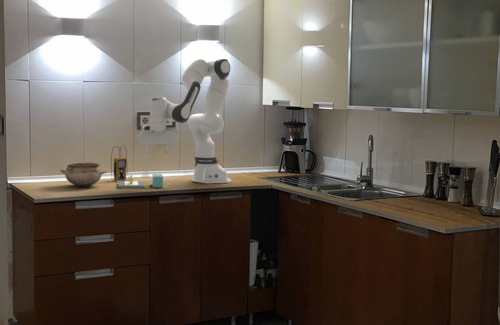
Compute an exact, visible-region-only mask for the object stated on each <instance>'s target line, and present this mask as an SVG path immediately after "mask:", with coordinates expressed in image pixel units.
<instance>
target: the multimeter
mask: <svg viewBox="0 0 500 325" xmlns="http://www.w3.org/2000/svg"><path fill="white" fill-rule="evenodd" d="M123 147H124V149H127V148H126V146H125V145H123ZM114 148H117V149H118V151H119V153H118V157H115V158H113V164H112V155H113V153H111V154H110V170H111V176H113V179H111V182H112V183H114V182H118V181H130V176H127V174H129V173H128V172H129V170H128V167H129V166H127V163H128V161H127V156H125V157H122V154H121V148H120V147H119V146H114ZM114 148H112V149H111V152H113V151H114ZM127 153H128V151H127V150H125V155H127ZM112 165H113V166H112ZM112 167H113V170H112ZM112 171H113V172H112ZM127 178H128V179H127Z"/></svg>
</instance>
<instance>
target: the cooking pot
mask: <svg viewBox="0 0 500 325" xmlns="http://www.w3.org/2000/svg"><path fill="white" fill-rule="evenodd" d="M66 165H67V166H66V169H65V170H64V169H61V168H60V169H59V172H60V173H62V174H63V175H64V176H65V179H66V180H67V181H68V182H69V183H70V184H72V185H73V186H75V187H76V188H84V189H85V188H90V187H92V186H93V185H94V184H96V183H98V182H99V181H100V180H101V178H102V175H104V174H106V173H107V172H108V170H104V171H102V170H101V167H100V165H101V163H100V162H96V161H95V162H93V161H75V162H74V161H73V162H68V163H66Z"/></svg>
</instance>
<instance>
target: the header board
mask: <svg viewBox="0 0 500 325" xmlns="http://www.w3.org/2000/svg"><path fill="white" fill-rule="evenodd" d="M129 179H130V181H126V180H122V181H117V189H118V190H119V189H123V190H125V189H127V190H128V189H130V190H131V189H134V190H137V189H138V190H139V189H140V190H142V189H143V190H145V189H146V184H145V181H144V180H134V175H132V174H130V175H129Z"/></svg>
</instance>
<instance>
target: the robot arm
mask: <svg viewBox="0 0 500 325" xmlns="http://www.w3.org/2000/svg"><path fill="white" fill-rule="evenodd" d="M230 73H231V62H230V61H229V59H227V58H225V57H217V56H216V57H209V58H206V57H205V58H203V57H201V56H200V57H199V56H198V57H196V58H194V59H193V60H192V62H191V63H189V65H188V66H187V68H186V69H185V71H184V72H183V74H182V76H181V82H182V85H183V87H185V89H187V91H186V93H185V96H184V98H183V100H182V101H181V102H180V103H172V102H171V101H169V100H167V99H166V97H164V96H157V97H154V98H152V99H151V101H150V104H149V105H150V106H149V115H150V119H149V124H144V125H142V126H141V131H140V132H139V136H138V143H139V145H145V148H146V151H147V153H148V154H149V153H150V154H151V149H150V148H148V146H149V145H166V148H165V149H164V153H165V154H168V151H169V149H170V147H171V145H172V146H173V145H174V146H175V145H176V144H177V135H178V130H177V129H176V128H175V127H167V121H169V122H175V123H180V124H183V123H186V122H187V126H188V129H189V130H190V131H191V133H192V135H193V139H194V145H195V146H194V148H195V149H194V150H195V153H194V154H195V155H194V159H193V160H194V161H193V162H194V163H193V164H194V171H193V176H192V180H191V181H192V182H196V183H201V184H225V183H227V184H229V183H231V182H232V179H231V178H228V173H227V172H228V171H226V169H225V168H223V167H222V166H221V165H220V164H219V162H220V158H217V157H215V153H216V152H215V148H216V147H215V145H216V144H215V142H214V140H212V138H211V134H212V135H213V134H220V133H221V132H222V131H223V129H224V127H225V122H224V119H223V116H222V108H223V104H224V102H225V98H226V96H227V93H228V89H229V83H230V81H229V78H228V77H229V75H230ZM205 77H206V78H210V83H209V86H208V88H207V90H206V92H205V93H206V94H205V96H204V99H203V105H204V106H205V113H194V114H191V113H192V111H193V110H192V109H193V107H194V104H195V102H196V100H197V99H198V96H199V93H200V92H201V85H202V83H203V82H204V80H205Z"/></svg>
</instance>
